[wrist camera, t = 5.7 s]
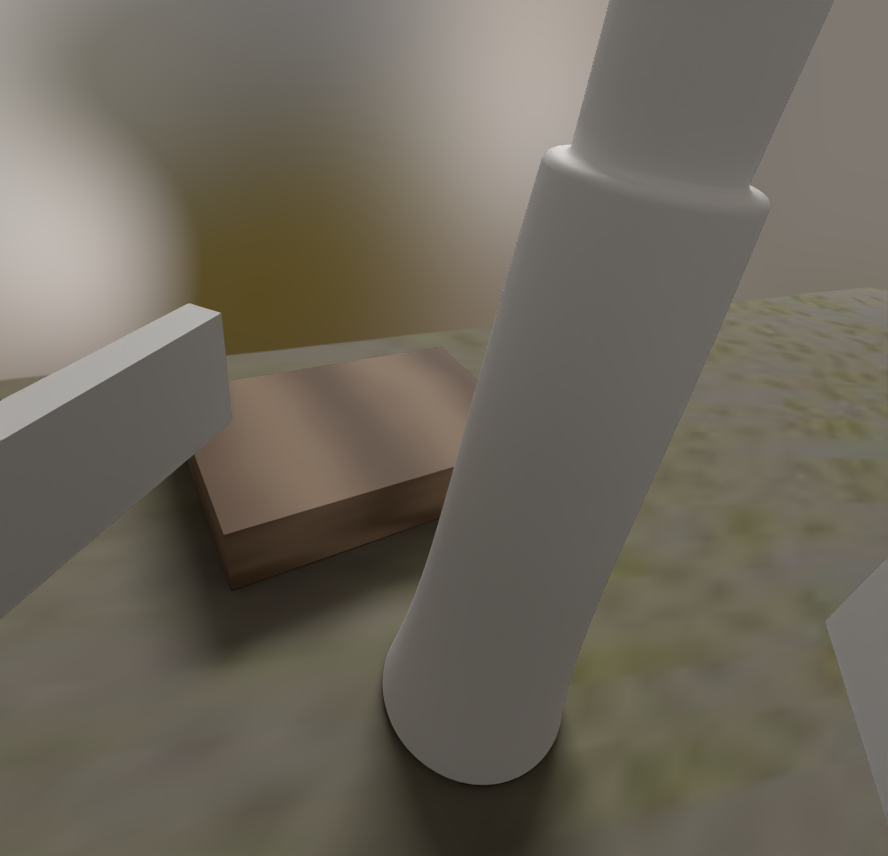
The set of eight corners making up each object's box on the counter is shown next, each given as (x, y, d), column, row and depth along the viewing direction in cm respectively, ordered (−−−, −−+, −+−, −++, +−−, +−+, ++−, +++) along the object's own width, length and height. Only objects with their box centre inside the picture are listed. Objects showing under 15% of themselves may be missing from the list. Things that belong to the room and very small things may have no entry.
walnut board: (434, 390, 32) (441, 346, 30) (526, 487, 26) (542, 440, 25) (180, 443, 25) (171, 390, 24) (231, 590, 20) (223, 535, 18)
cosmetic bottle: (407, 815, 15) (1120, -1549, 2) (365, 623, 19) (484, -462, 6) (593, 756, 17) (1570, -574, 4) (516, 595, 21) (846, -275, 8)
